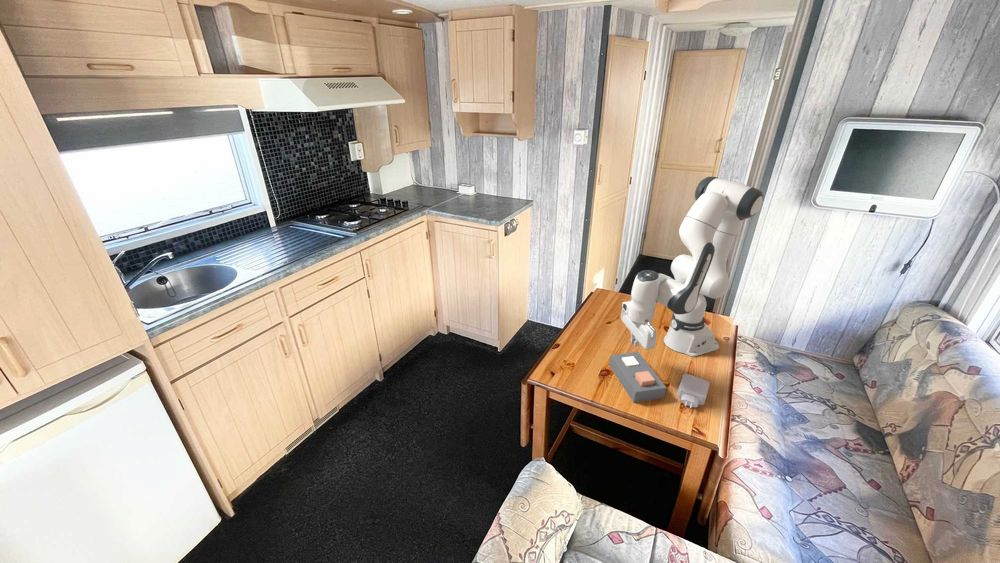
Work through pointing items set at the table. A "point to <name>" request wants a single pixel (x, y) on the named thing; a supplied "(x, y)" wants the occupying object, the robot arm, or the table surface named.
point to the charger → (693, 390)
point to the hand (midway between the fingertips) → (634, 344)
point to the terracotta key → (644, 378)
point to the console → (629, 382)
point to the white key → (630, 361)
